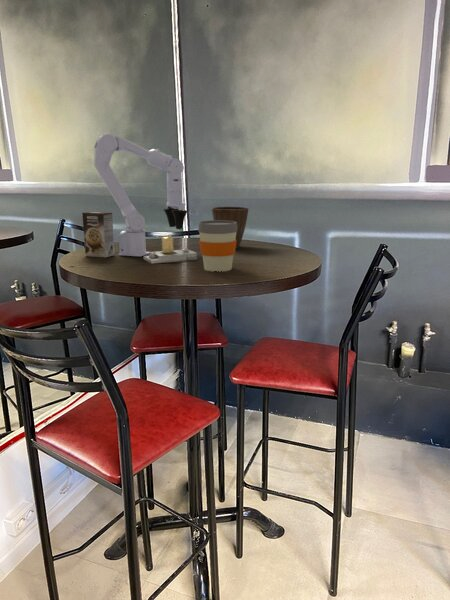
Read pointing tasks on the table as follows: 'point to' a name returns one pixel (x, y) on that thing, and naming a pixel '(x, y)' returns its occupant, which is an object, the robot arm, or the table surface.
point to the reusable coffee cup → (217, 244)
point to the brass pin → (167, 245)
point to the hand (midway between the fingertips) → (175, 227)
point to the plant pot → (232, 218)
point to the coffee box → (98, 234)
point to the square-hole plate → (171, 256)
